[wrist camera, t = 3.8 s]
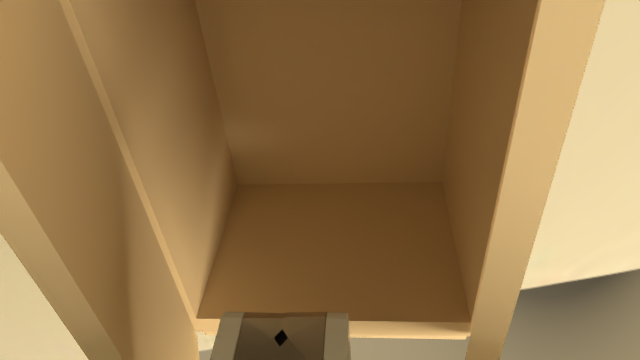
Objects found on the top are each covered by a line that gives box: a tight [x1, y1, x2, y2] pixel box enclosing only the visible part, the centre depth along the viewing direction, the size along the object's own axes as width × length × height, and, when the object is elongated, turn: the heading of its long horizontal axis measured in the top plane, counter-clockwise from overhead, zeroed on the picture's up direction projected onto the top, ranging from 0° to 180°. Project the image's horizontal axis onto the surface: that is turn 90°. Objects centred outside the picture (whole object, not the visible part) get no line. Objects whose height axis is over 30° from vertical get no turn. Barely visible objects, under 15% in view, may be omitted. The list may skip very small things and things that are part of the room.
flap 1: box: [0, 0, 199, 360], centre depth 13 cm, size 1×18×7 cm, turn 4°
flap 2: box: [465, 0, 605, 360], centre depth 12 cm, size 1×18×7 cm, turn 5°
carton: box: [59, 0, 542, 339], centre depth 20 cm, size 14×19×10 cm
